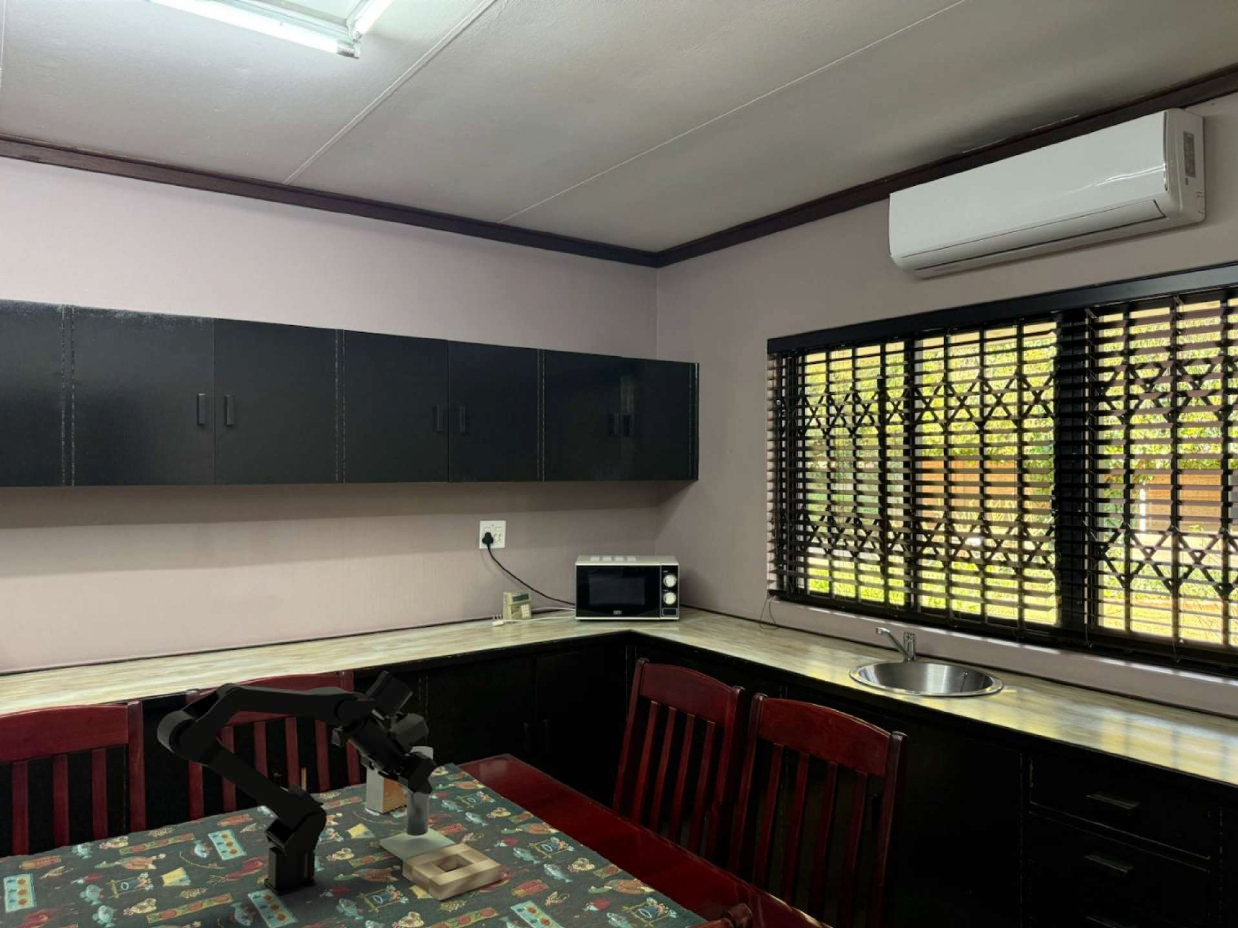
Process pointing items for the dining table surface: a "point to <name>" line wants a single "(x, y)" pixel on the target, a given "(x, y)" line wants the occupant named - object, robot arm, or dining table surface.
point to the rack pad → (415, 844)
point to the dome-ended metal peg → (418, 802)
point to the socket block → (442, 885)
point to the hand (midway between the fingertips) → (424, 788)
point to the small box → (383, 793)
